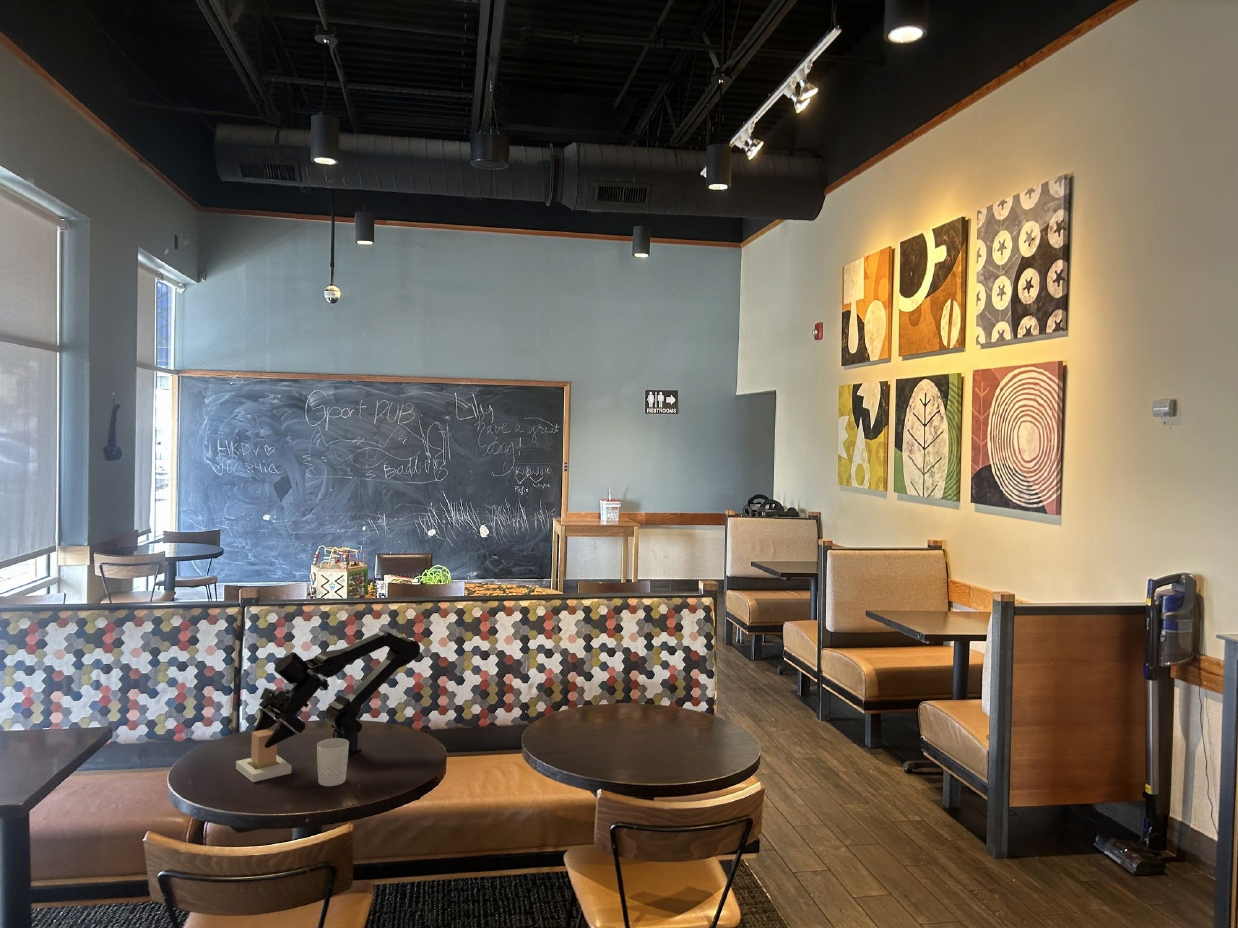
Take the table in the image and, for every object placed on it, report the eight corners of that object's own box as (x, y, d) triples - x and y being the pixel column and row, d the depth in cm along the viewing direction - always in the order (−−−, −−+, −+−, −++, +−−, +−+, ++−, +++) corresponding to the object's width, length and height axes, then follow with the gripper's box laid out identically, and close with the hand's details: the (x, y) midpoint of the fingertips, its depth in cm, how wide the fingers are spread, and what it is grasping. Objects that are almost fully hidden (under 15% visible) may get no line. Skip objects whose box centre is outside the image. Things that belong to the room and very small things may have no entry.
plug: (269, 765, 229) (270, 728, 228) (276, 770, 225) (277, 732, 225) (250, 769, 225) (251, 731, 225) (257, 774, 222) (258, 736, 222)
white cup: (320, 775, 223) (321, 737, 223) (351, 775, 224) (352, 737, 224) (312, 787, 215) (313, 748, 215) (343, 787, 216) (344, 748, 216)
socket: (273, 759, 233) (273, 752, 233) (291, 772, 224) (291, 765, 224) (235, 768, 226) (236, 761, 226) (252, 782, 217) (252, 774, 217)
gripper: (267, 669, 234) (224, 716, 227) (294, 683, 221) (250, 734, 213) (294, 692, 240) (253, 739, 232) (323, 708, 226) (280, 758, 219)
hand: (258, 742), depth 224 cm, fingers open, 9 cm apart
